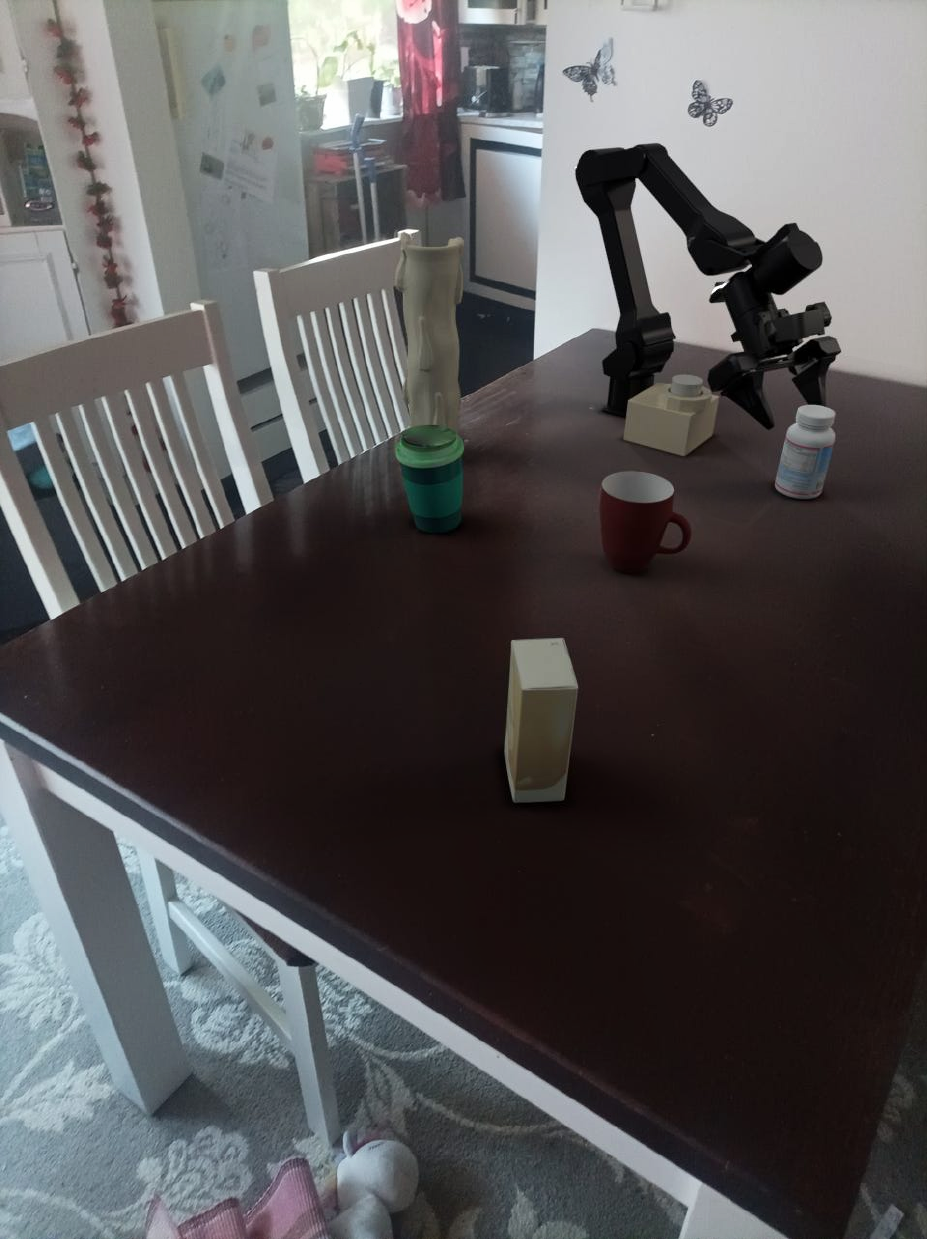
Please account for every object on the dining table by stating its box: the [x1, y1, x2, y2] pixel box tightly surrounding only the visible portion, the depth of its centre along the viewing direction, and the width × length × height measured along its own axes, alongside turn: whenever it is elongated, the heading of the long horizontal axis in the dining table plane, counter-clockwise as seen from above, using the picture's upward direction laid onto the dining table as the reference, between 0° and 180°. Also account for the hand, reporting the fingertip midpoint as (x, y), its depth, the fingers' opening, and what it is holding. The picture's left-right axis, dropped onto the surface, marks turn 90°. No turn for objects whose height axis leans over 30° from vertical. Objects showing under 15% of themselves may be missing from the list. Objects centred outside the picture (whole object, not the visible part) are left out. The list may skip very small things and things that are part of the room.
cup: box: [395, 425, 465, 535], centre depth 105 cm, size 8×8×12 cm
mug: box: [598, 470, 692, 574], centre depth 98 cm, size 10×8×10 cm
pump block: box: [623, 381, 720, 457], centre depth 130 cm, size 11×10×8 cm
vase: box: [394, 231, 465, 436], centre depth 117 cm, size 9×8×30 cm
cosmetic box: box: [504, 637, 579, 804], centre depth 69 cm, size 6×4×12 cm
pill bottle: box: [774, 404, 837, 500], centre depth 114 cm, size 6×6×11 cm
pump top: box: [670, 374, 704, 398], centre depth 125 cm, size 4×4×2 cm
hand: (797, 422), depth 114 cm, fingers open, 9 cm apart
